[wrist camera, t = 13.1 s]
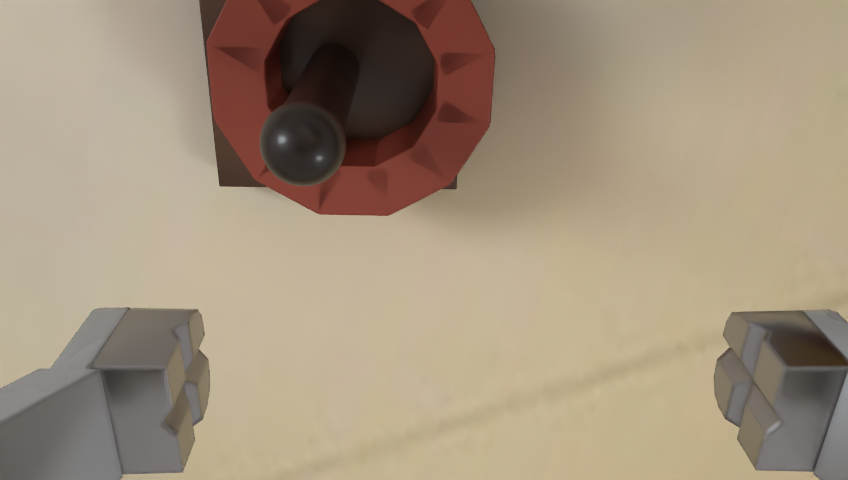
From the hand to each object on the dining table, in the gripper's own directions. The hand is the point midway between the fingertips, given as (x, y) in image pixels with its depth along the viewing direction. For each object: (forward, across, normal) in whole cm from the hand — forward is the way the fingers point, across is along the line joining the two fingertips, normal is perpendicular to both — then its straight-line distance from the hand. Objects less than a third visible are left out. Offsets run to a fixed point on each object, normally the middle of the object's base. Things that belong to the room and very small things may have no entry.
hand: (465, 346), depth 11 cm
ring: (+19, +3, 0) cm, 20 cm away
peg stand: (+21, +4, 0) cm, 21 cm away
